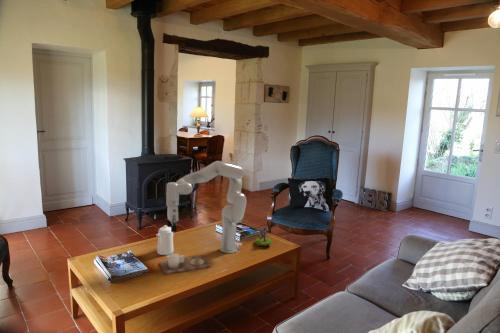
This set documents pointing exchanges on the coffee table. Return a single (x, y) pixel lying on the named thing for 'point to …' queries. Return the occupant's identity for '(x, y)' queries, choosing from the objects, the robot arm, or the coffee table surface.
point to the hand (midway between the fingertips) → (171, 228)
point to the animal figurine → (263, 238)
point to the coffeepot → (165, 241)
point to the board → (186, 265)
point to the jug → (174, 260)
